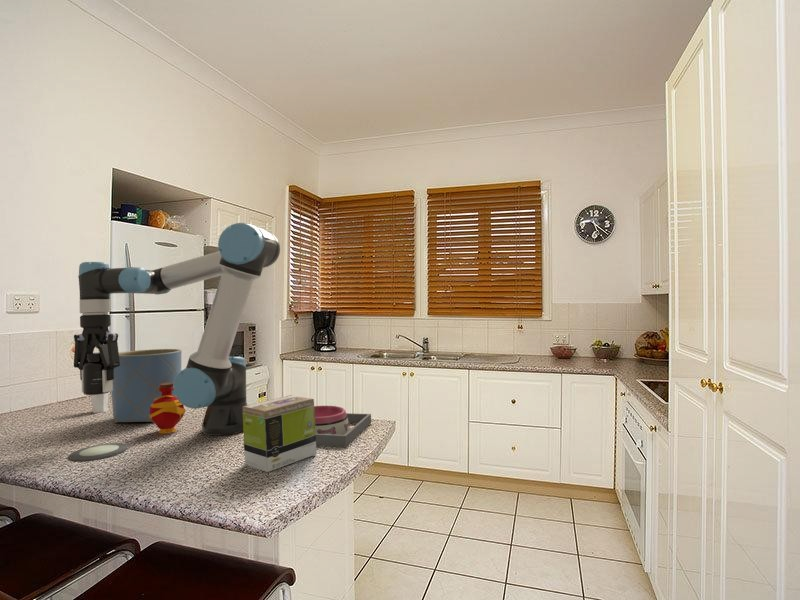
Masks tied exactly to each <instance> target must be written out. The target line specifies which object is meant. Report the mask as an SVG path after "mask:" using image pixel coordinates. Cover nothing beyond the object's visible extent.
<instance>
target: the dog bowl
mask: <svg viewBox="0 0 800 600" xmlns="http://www.w3.org/2000/svg"><path fill="white" fill-rule="evenodd" d="M314 413H315V431H316V434H334V435H345V434H346V433H347V432H348V431H349V430H350V429H352V427H351V426H350V423H349V422H348V418H347V415H346V413H347V411H346V409H345V408H344V407H341V406H338V405H337V406H336V405H314Z"/></svg>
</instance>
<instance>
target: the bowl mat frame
mask: <svg viewBox="0 0 800 600" xmlns="http://www.w3.org/2000/svg"><path fill="white" fill-rule="evenodd" d="M346 415H347V418H348V422H349V424H355V425H354V426H353V427H351V429H350V430H349V431H348V432H347V433H346V434H345V435H334V434H316V447H318V446H320V447H339V448H340V447H343V448H347V447H348V446H349V445H350V444H351V443H352V442H353V441H354V440H355V439H356V438H357V437H358V436H359V435H360V434H361V433H363V432H364V431H365V430H366V429H367V428H368V427H369V426H370V425H371V424H372V413H351V412H350V413H348V412H346Z"/></svg>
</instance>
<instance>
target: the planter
mask: <svg viewBox="0 0 800 600" xmlns="http://www.w3.org/2000/svg"><path fill="white" fill-rule="evenodd" d="M182 351H183V350H182V349H178V348H159V349H158V348H157V349H153V348H152V349H139V350H130V351H129V350H128V351H121V352H120V351H118V352H119V360H120V366H118V367H115V368H114V379H113V391H110V392H111V402H112V403H111V404H112V405H111V406H112V416H113V423H115V424H116V423H139V422H140V423H145V422H146V423H154V422H153V421H152V419H150V416H149V415H150V413H149V412H150V407H151V404H153V402H154V399H156V398H159V397H161V396H162V392H160V391H159V388H161V387H160V385H159V384H162V383H174V380H175V377H176V376H177V374H178V373H179V372H181V371H182ZM172 395H173V396H175V397H177V396H176V395H175V393H174V390H172Z"/></svg>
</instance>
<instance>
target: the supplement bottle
mask: <svg viewBox="0 0 800 600" xmlns="http://www.w3.org/2000/svg"><path fill="white" fill-rule="evenodd" d="M87 360H88V362H87V363H85V364H84V365H83V392H82V394H83V395H85V396H91V395H98V394H105V393H108V394H109V393H110V392H111V391H109V392H103V380H102V370H103V369H104V365H103V362H102V359H101V356H100V352H99V351H98V352H93V353H88V354H87Z"/></svg>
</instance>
